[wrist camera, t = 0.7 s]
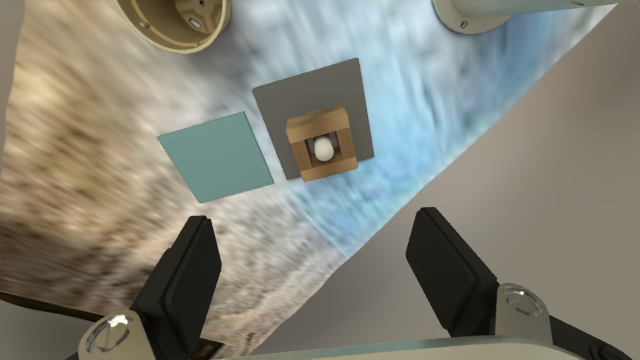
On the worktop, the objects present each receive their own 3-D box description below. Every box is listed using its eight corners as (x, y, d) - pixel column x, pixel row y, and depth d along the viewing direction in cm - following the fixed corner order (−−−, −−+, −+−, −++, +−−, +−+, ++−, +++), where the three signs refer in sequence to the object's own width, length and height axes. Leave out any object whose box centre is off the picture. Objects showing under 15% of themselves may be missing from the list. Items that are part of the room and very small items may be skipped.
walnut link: (341, 104, 28) (347, 113, 25) (351, 153, 32) (358, 168, 28) (287, 119, 29) (285, 130, 25) (303, 167, 32) (303, 182, 29)
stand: (356, 57, 31) (379, 65, 22) (371, 152, 38) (394, 188, 29) (253, 88, 32) (235, 107, 23) (287, 175, 39) (284, 216, 30)
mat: (243, 111, 34) (243, 112, 33) (274, 182, 40) (273, 183, 39) (158, 136, 35) (156, 137, 34) (200, 201, 41) (199, 203, 40)
